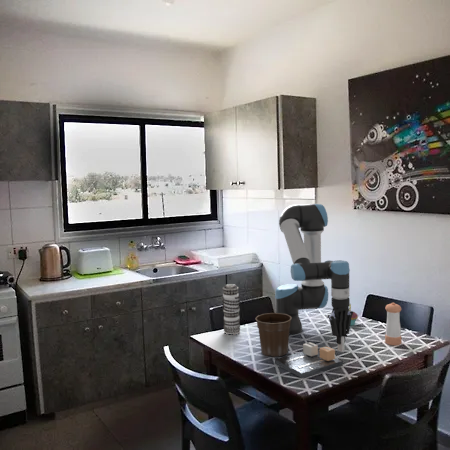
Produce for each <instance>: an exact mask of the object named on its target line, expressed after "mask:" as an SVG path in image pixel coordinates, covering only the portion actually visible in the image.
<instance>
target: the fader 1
mask: <svg viewBox="0 0 450 450" xmlns="http://www.w3.org/2000/svg"><path fill="white" fill-rule="evenodd" d="M318 346H319V345H318V344H315V343H314V342H305V343H303V344H302V352H303V353H304V354H307V355H309V356H314V355H318V350H319V347H318Z"/></svg>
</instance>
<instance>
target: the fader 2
mask: <svg viewBox="0 0 450 450" xmlns="http://www.w3.org/2000/svg"><path fill="white" fill-rule="evenodd" d="M319 351H320V358H322V359H324V360H327V361H330V360H333V359H335V358H336V349H334V348H332V347H329V346H323V347H320V348H319Z"/></svg>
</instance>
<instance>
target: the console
mask: <svg viewBox="0 0 450 450" xmlns="http://www.w3.org/2000/svg"><path fill="white" fill-rule="evenodd" d="M274 365H276V366H277V367H280V368H282V369H284V370H285V371H288V372H290V373H291V374H292V375H295V376H297V377H298V378H301V379H304V378H308V377H311V376H314V375H317V374H320V373H323V372H326V371H330V370H333V369H337V368H339V367H342V366H344V362H343V360H342V359H339V358H337V357H335V359H333V360H330V361H327V360H324V359H322V358H320V349H318V355H314V356H309V355H307V354H304V353H303V351H299V352H296V353H292V354H289V355H284V356H280V357H278V358H277V357H276V358H274Z"/></svg>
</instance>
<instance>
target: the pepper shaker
mask: <svg viewBox="0 0 450 450" xmlns="http://www.w3.org/2000/svg"><path fill="white" fill-rule="evenodd" d="M385 310H386V323H385V324H386V325H385V334H384V343H385V344H387V345H388V346H400V345H402V344H403V343H402V334H401V333H402V332H401V331H402V327H401V321H400V312H401V311H402V307H401V305H399V304H397V303H395V302H391V303H389V304H386V305H385Z"/></svg>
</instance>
